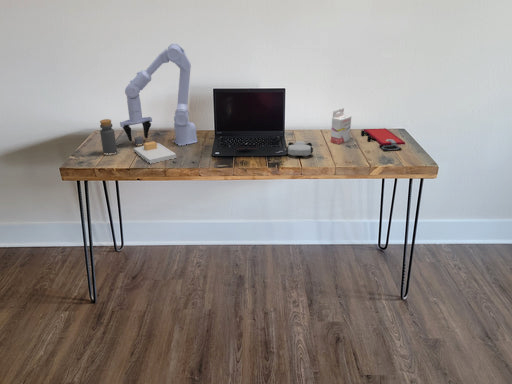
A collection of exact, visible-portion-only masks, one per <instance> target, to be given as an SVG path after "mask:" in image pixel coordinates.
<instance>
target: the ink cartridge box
mask: <svg viewBox="0 0 512 384" xmlns="http://www.w3.org/2000/svg"><path fill="white" fill-rule="evenodd" d="M344 110H345V107H344V108H339V109H337V110H334V111H333V112H332V116H331V117H332V118H331V130H330V131H331V133H330V143H333V144H337V145H340V144H342V143H343V144H344V143H346V142H349V141H350V137H351V126H352V123H351V122H352V116H351V115H348V114H344Z"/></svg>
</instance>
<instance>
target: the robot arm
mask: <svg viewBox="0 0 512 384" xmlns="http://www.w3.org/2000/svg"><path fill="white" fill-rule="evenodd" d="M169 62H171V63H174V64H175V66H177V67H178V69H179V78H178V79H179V80H178V81H179V82H178V90H177V91H178V92H177V93H178V94H177V105H176V109H175V112H174V116H173V121H174V122H173V125H174V136H175V138H174V140H172V141H173V143H174V142H175V143H176V145H177V144H178V145H177V146H179V147H181V145H182V146H186V144H187V145H191V144H194V143H198V137H197V128H196V125H195V123H194V122H192V121H191V122H190V121H189V116H190V115H189V114H190V113H189V111H188V101H189V89H190V77H191V67H192V66H191V62H190V59H189V58H188V56H187V54H186V52H185V50H184V49H183V47H181V45H179V44H178V43H171V44H170V45H168V47H167V48H165V49H164V50H163V51H161V52H160V53H159V54H158V56H156V58H155V59H154V60H153V61H152V63H150V65H149V66H148V67H147V68H146V69H144V70H140V71H137V72H136V76H135V77H134V78H133V79H131V80H129V83H128V85H126V87H125V88H124V89H125V90H124V94H125V96H126V101H127V110H128V118H129V119H127V120H124V121H120V122H119V126H120V127H121V128H122V129H123V131H124V132H125V134H126V135H127V138H128V141H129V142H133V140H132V128H131V126H135V125H140V124H141V125H142V129H143V136H144V138H145V139H148V138H149V137H148V136H149V131H150V129H151V126H152V123H151V122H153V117H151V116H147V117H146V116H145V117H143V113H142V105H141V104H142V103H141V98H140V92H141V91H142V90H144V89H145V87H146V86H147V85H148V84H149V83H150V82H151V81H152V75H153V74H154V73H155V72H156V71H157V70H158V69H159V68H160V67H161V66H162V65H163V64H167V63H169ZM175 143H174V144H175Z"/></svg>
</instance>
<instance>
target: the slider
mask: <svg viewBox="0 0 512 384" xmlns="http://www.w3.org/2000/svg"><path fill="white" fill-rule="evenodd" d="M157 143H158V142H156V141H154V140H153V141H149V142H143V144H144V145H143V146H144V149H145V150H151V149H156V148H157Z"/></svg>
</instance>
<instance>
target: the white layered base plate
mask: <svg viewBox="0 0 512 384" xmlns="http://www.w3.org/2000/svg"><path fill="white" fill-rule="evenodd" d="M156 143H157V148H156V149H151V150H145V149H144V145H141V146H137V147H133V148H132V149H133V152H134V151H135V152H136V153H137V154H138V155H139V156H141V157H142V158H143V159H142V158H141V157H140V158H141V159H142V160H144V159H145V160H146V161H147V162H146V161H145V160H144V161H145V162H146V163H148V162H149V163H150V164H149V163H148V164H149V165H152V164H151V163H155V164H157V163H156V162H159V163H161V162H160V161H163V162H165V161H164V160H167V161H170V160H169V159H172V160H175V159H174V158H176V159H177V154H176V153H175V152H173V151H172V150H170V149H169V148H167V147H165V146H164V145H162V144H161V143H160V142H156ZM137 154H136V155H137ZM138 155H137V156H138ZM139 156H138V157H139Z"/></svg>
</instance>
